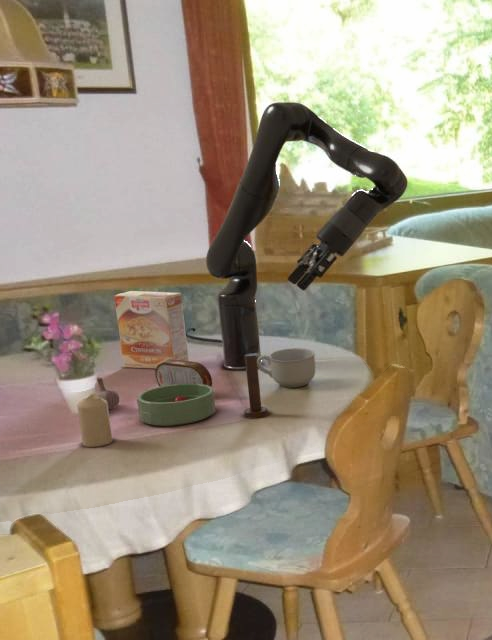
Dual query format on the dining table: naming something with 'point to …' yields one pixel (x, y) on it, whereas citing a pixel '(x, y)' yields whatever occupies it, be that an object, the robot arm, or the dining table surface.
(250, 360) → the muddler
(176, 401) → the berry
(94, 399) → the candle
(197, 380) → the tin
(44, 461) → the dining table surface
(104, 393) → the garlic bulb
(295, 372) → the teacup
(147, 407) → the bowl
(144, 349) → the coffeecake box
